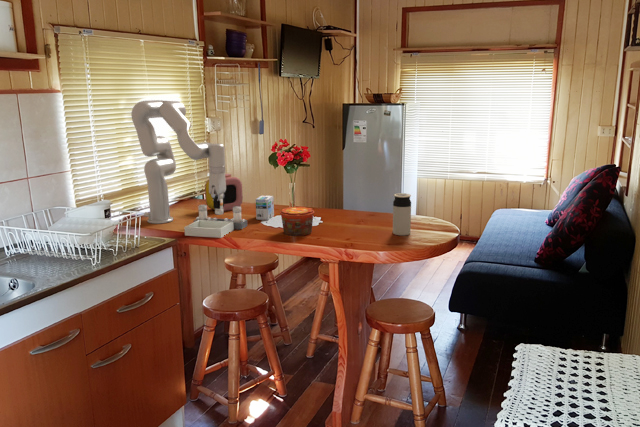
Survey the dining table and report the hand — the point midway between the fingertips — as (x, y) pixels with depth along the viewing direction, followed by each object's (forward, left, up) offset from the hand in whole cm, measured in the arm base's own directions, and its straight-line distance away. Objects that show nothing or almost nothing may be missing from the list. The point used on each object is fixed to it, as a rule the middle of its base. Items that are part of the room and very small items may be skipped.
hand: (219, 207), depth 261 cm
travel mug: (+87, +5, -10) cm, 88 cm away
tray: (0, -12, -10) cm, 15 cm away
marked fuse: (0, 0, -3) cm, 3 cm away
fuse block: (0, 0, -10) cm, 10 cm away
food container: (+40, -3, -10) cm, 42 cm away
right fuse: (+9, 0, -10) cm, 13 cm away
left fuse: (-9, 0, -10) cm, 13 cm away
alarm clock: (-14, +36, -10) cm, 40 cm away
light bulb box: (+15, +22, -10) cm, 28 cm away
